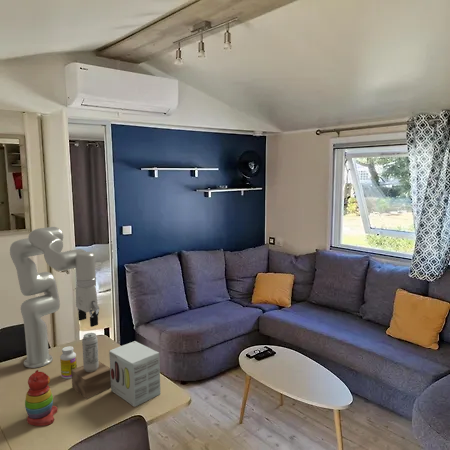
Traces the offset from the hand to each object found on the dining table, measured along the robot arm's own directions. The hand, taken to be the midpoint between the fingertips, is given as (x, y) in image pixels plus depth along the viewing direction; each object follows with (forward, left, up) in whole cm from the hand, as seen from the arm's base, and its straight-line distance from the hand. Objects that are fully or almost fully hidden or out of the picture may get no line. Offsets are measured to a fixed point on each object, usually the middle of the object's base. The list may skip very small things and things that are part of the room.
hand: (88, 322), depth 169 cm
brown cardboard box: (0, 0, -29) cm, 29 cm away
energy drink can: (0, 0, -21) cm, 21 cm away
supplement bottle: (-17, -2, -29) cm, 33 cm away
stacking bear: (+6, -24, -29) cm, 38 cm away
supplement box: (+17, +10, -29) cm, 35 cm away
